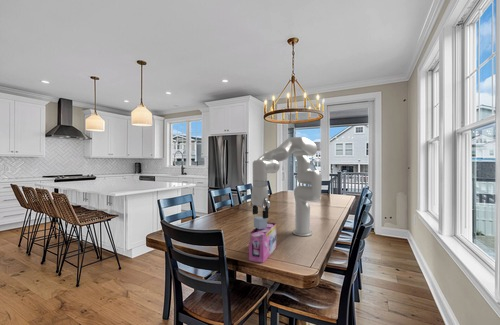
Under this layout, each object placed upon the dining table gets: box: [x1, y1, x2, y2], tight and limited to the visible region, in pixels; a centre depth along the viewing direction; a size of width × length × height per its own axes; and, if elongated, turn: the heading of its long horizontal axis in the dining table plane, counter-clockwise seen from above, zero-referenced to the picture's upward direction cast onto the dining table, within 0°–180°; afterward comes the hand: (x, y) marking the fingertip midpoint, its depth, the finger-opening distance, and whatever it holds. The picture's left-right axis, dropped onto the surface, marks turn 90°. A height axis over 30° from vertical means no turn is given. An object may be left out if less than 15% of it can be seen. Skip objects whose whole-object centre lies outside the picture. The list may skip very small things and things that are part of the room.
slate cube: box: [253, 215, 268, 229], centre depth 125 cm, size 5×5×5 cm
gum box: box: [248, 221, 277, 264], centre depth 125 cm, size 24×8×14 cm, turn 158°
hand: (260, 216), depth 126 cm, fingers open, 9 cm apart
